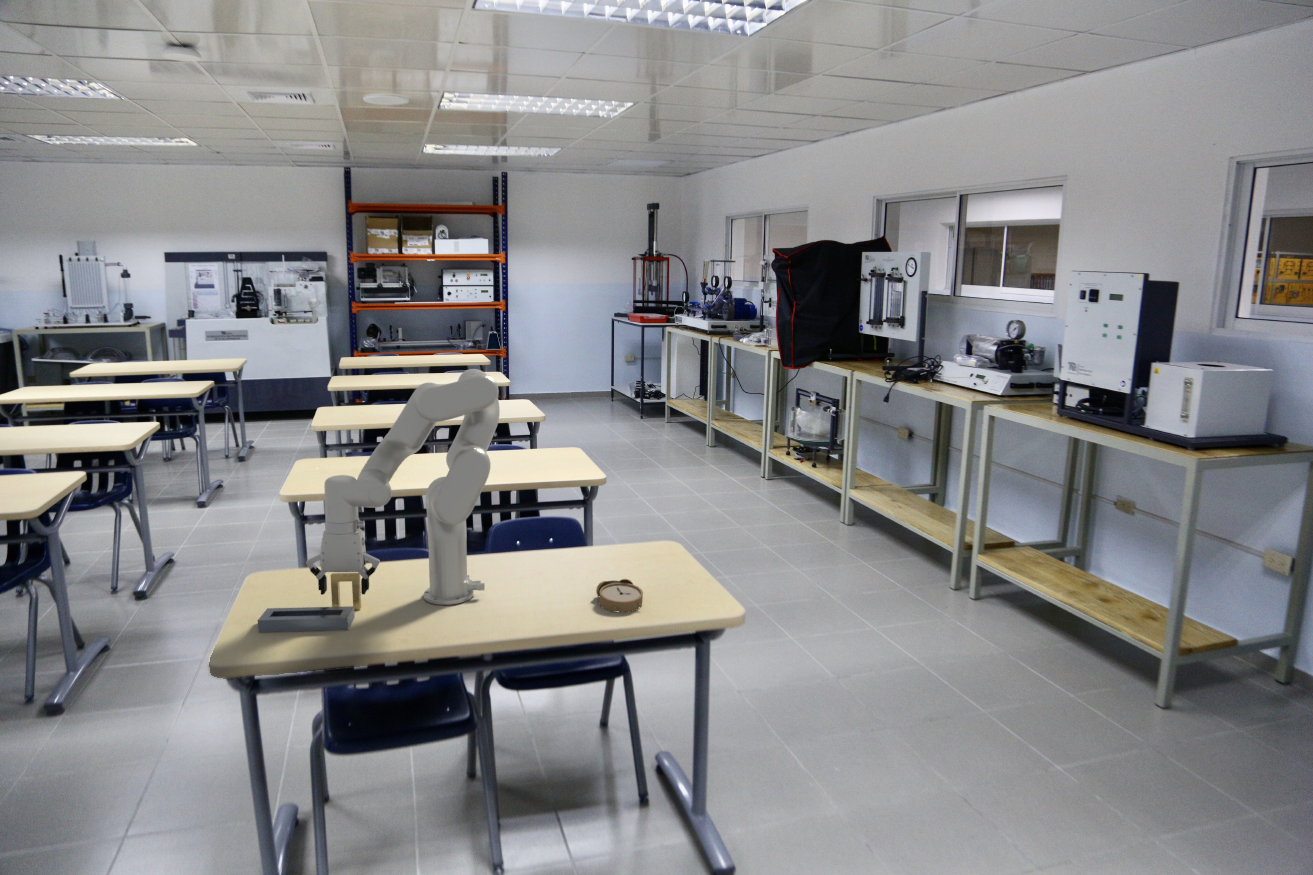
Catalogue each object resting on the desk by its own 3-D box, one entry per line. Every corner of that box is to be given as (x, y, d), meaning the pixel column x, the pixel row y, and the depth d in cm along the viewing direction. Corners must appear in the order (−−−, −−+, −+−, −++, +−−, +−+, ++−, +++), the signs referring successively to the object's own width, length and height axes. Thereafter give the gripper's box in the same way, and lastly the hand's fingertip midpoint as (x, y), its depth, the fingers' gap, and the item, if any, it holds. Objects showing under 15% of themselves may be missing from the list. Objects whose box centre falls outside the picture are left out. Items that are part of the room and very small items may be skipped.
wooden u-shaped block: (361, 607, 212) (359, 572, 210) (360, 610, 210) (358, 575, 208) (333, 608, 211) (332, 573, 209) (332, 610, 209) (330, 575, 208)
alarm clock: (607, 605, 211) (590, 574, 224) (605, 621, 212) (589, 590, 225) (649, 600, 215) (631, 570, 228) (647, 616, 216) (629, 586, 229)
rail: (354, 617, 206) (353, 606, 205) (347, 629, 199) (347, 618, 198) (268, 619, 203) (267, 608, 203) (258, 632, 196) (257, 620, 196)
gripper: (381, 521, 211) (383, 586, 214) (309, 521, 209) (311, 587, 212) (375, 531, 204) (377, 598, 207) (300, 530, 201) (303, 598, 205)
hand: (344, 592), depth 210 cm, fingers open, 9 cm apart
